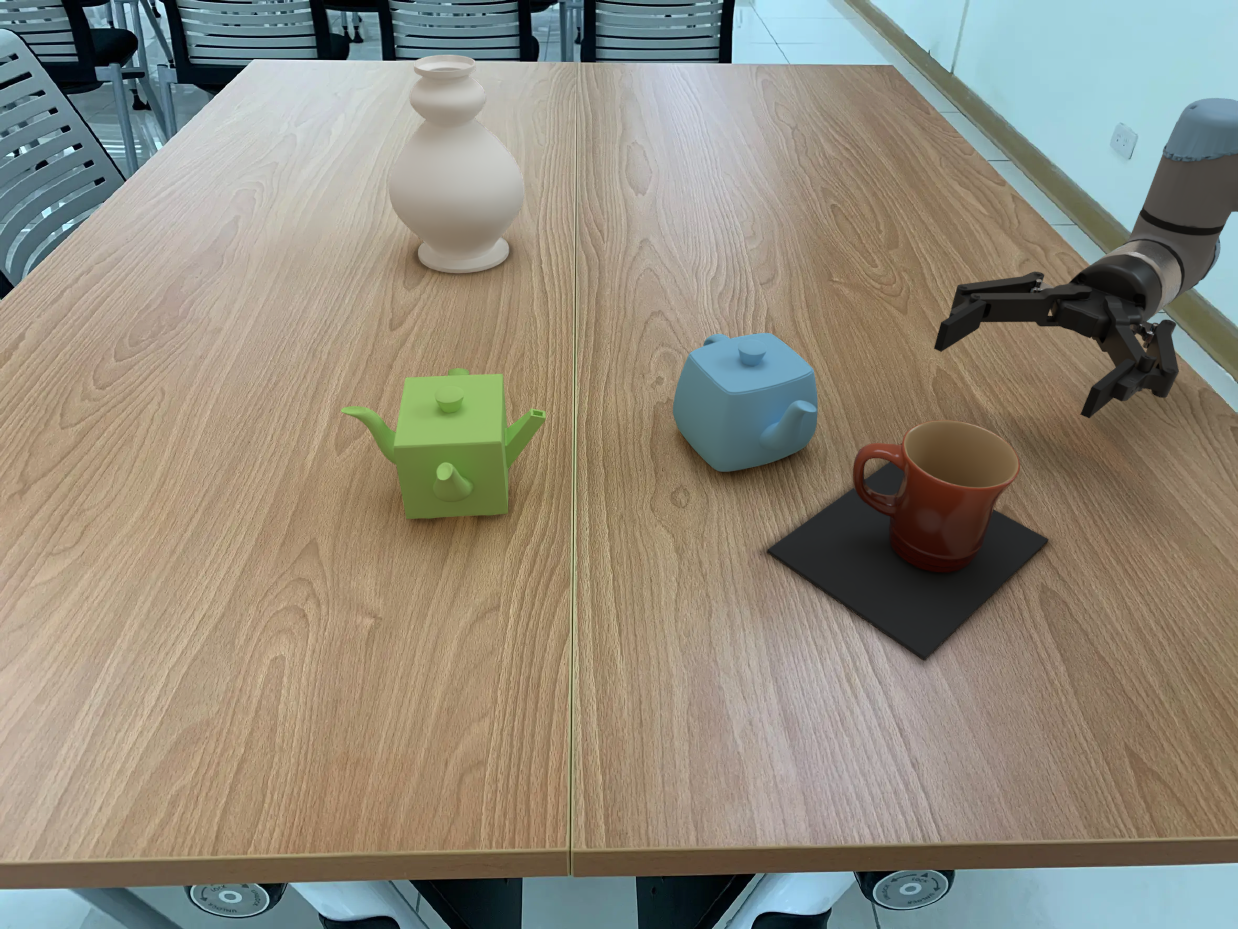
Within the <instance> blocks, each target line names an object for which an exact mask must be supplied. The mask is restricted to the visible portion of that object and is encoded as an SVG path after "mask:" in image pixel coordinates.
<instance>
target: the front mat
mask: <svg viewBox="0 0 1238 929" xmlns="http://www.w3.org/2000/svg"><path fill="white" fill-rule="evenodd" d="M903 473H904V472H903V471H902V470H901V469H899V468H898V467H897V466H896V465H894V464H893V463H891V462H890V461H888V462H887V463H885V465H883V466H882V467H881V468H879V469H878V470H875V472H874V473H872V474H871V475H868V476H867V477H866V478H864V479H865V482H866V484H867V485H868V487H869V488H870V489H872V490H873V491H875V492H877V493H880V494H884V495H894V494H896V493H897V491H898V490H899V487H900V485H901V482H902V478H903ZM889 524H890V516H887V515H884V514H882V513H880V512H878V511H876V510H875V509H873V508H872V507H870V506H869V505H867V504H866V503H865V502H863V501H862V500H861V499H860V497H859V496H858V494H857V492H856V490H855V487H854V486H853V487H852V488H851V489H849V490H848V491H847V492H846V493H844V494H843V495H841V496H840V497H839V498H837V499H835V500H834V501H833V502H831V503H830V504H829V505H827V506H826V507H824V508H823V509H822V510H820V511H819V512H818V513H816V514H815V515H813V516H812V517H810V518H809V519H807V520H806V521H805V522H803V523H802V524H801V525H800V526H798V527H797V528H795V529H794V530H792V531H791V532H790V533H789V534H787V535H786V536H784V537H783V538H781V539H780V540H779V541H777V542H776V543H774V544H773V545H771V546H770V547H769V548H767V550H766V553H767V554H769V555H770V556H772V557H773V558H774V559H776V560H778V562H780V563H782V564H783V565H785V566H786V567H788V568H789V569H790V570H792V571H793V572H794V573H796V574H798V575H799V576H801V577H802V578H803V579H805V580H807V581H808V582H809V583H810V584H812V585H814V586H815V587H816V588H818V589H820V590H821V591H823V592H824V593H825V594H827V595H829V596H830V597H831V598H833V599H834V600H836V601H837V602H838V603H840V604H842V605H843V606H845V607H846V608H848V609H849V610H850V611H852V612H853V613H855V614H856V615H858V617H861V618H862V619H863V620H865V621H866V622H868V623H869V624H871V625H872V626H874V627H875V628H876V629H877V630H879V631H881V632H882V633H884V634H885V635H887V636H888V637H890V638H891V639H892V640H894V641H895V642H897V643H898V644H899V645H901V646H903V647H904V648H906V649H907V650H908V651H910V652H912V653H913V654H914V655H916V656H917V657H919V658H921V660H923V661H924V660H926V659H927V658H928V657H929V656H930V655H931V654H932V653H933V652H935V650H937V649H938V647H940V646H941V644H943V643H944V642H945V641H946V640H947V639H948V638H949V637H950V636H951V635H952V634H953V633H954V632H956V631H957V630H958V628H959V627H961V625H963V624H964V623H965V622H966V621H967V620H968V619H969V618H970V617H971V616H972V615H973V614H974V613H975V612H976V611H977V610H978V609H979V608H980V607H981V606H982V605H984V603H985V602H987V601H988V600H989V599H990V597H992V596H993V595H994V594H995V593H996V592H997V591H998V590H999V589H1000V588H1001V587H1002V586H1003V585H1004V584H1005V583H1007V581H1008V580H1010V578H1011V577H1013V576H1014V575H1015V574H1016V573H1017V572H1018V571H1019V570H1020V569H1021V568H1022V567H1023V566H1024V565H1025V564H1027V562H1028V561H1030V560H1031V559H1032V557H1034V556H1035V555H1036V554H1037V553H1038V552H1039V551H1040V550H1041V549H1042V548H1043V547H1044V546H1045V545H1046V544H1047V543H1048V542H1049V538H1047V537H1045V536H1043V535H1042V534H1040V533H1038V532H1036V531H1035V530H1033V529H1031V528H1029V527H1027V526H1025V525H1024V524H1021V523H1020V522H1018V521H1016V520H1014V519H1012V518H1011V517H1008V516H1007V515H1005V514H1003V513H1001V512H1000V511H998V510H996V509H994V510H993V513H992V517H991V520H990V523H989V526H988V529H987V532H986V534H985V537H984V542H983V544H982V546H981V548H980V549H979V551H978V553H977V555H976V556H975V557H974V558H973V560H972V561H971V562H970V564H969V565H967V566H966V567H964V568H963V569H960V570H958V571H954V572H948V573H938V572H931V571H926V570H923V569H920V568H918V567H915V566H913V565H912V564H910V563H908V562H907V561H905V560H904V559H903V558H901V557H900V556H899V555H898V554H897V553H896V551H895V550H894V549H893V547H892V546H891V543H890V538H889Z"/></svg>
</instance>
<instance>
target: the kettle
mask: <svg viewBox="0 0 1238 929" xmlns="http://www.w3.org/2000/svg"><path fill="white" fill-rule="evenodd" d="M504 380H505V379H504V374H503V373H488V374H487V373H486V374H483V373H482V374H470V371H469V370H468V369H467V368H462V367H457V368H456V367H454V368H451V369H449V370H447V375H431V376H411V377H410V376H407V377H405V379H404V383H403V388H402V389H403V390H402V394H401V400H400V406H399V410H398V416H397V417H398V418H397V423H396V429H395V431H394V430H392V429H391V428H390V427H389V426H388V425H387V424H386V422H385V421H384V419H383V418H382V417H381V416H380V415H379V414H378V413H377V412H376V411H374V410H373V409H371V408H369V407H366V406H360V405H351V406H344V407H342V408H341V409H340V412H341V413H342V414H345V415H347V416H350V417H352V418H355V419H357V420H358V421H360V422H361V423H363V424H364V425H365V427H366V428H367V429H368V431H369V432H370V433H371V436H372V437H373V439H374V442H375V443H376V445H377V447H378V448H379V450H380V452H381V453H382V454H383V456H384V457H385V458H386V459H387V460H388V461H389V462H390V463H391V464H394V465H395V466H396V472H397V477H398V482H399V487H400V493H401V499H402V504H403V509H404V515H405V519H406V520H413V519H415V520H416V519H428V520H430V519H435V518H450V517H451V518H453V517H471V516H487V517H488V516H495V515H508V514H509V469H510V468H511V467H512V465H513V464H514V463H515V461H516V460H517V459H518V457H519V456H520V455H521V453H522V452H523V450H525V448H526V446H527V445H528V444H529V443H530V441H531V440H532V439H533V437H534V436H535V435H536V433H537V432H538V431H539V429H540V428H541V427H542V425H543V424H544V423H545V422H546V419H547V414H546V410H542V409H536V408H530V409H529V410H528V411H526V413H524V414H523V415H522V416H521V417H520V418H518V419H517V420H516V421H515V422H514V423H512V424H511V425H510V426H508V418H507V406H506V405H507V404H506V395H505V381H504Z"/></svg>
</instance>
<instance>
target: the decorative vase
mask: <svg viewBox="0 0 1238 929" xmlns="http://www.w3.org/2000/svg"><path fill="white" fill-rule="evenodd" d="M476 64H477V62H476V60H475V59H474V58H471V57H470V56H465V55H459V54H435V55H429V56H424V57H421V58H418V59H416V60H415V61H413V72H414V73H415V74H417V75H419V76H421V78H420V79H419V80H418V81H416V82H415V83H414V85H413V86H412V88H411V89H410V93H409V103H410V106H411V108H412V109H413V110H414V111H415V112H416V113H417V114H418V115H419V116H420V117H422V118H423V119H424V121H423V122H422V123H421V124H420V125H419V126H418V128H417V129H416V130H415V131H414V132H413V133H412V135H411V136H410V137H409V139H408V140H407V141H406V143H404V145H403V146H402V148H401V150H400V152H399V153H398V155H397V157H396V159H395V161H394V163H393V165H392V168H391V170H390V175H389V180H388V194H389V201H390V204H391V206H392V209H393V211H394V212H395V214H396V216H397V217H398V218H399V219H400V221H401V222H402V223H403V224H404V225H405V226H406V227H407V228H408V229H409V230H410V231H411V232H412V233H413V234H415V235H416V236H417V237H418V238H419V239H420V240H421V241H422V243H421V244H420V245H419V247H418V249H417V256H418V260H419V261H420V263H421V264H422V265H424V266H425V267H427V268H429V269H431V270H434V271H437V272H442V273H448V274H469V273H470V274H471V273H478V272H482V271H486V270H490V269H492V268H494V267H497V266H498V265H500V264H502V263H503V262H504V261H505V260H506V259H507V258H508V257H509V253H510V246H509V244H508V242H507V240H506V239H505V238H503V237H502V236H503V235H504V234H505V233H506V231H507V230H508V229H509V227H510V226H511V224H512V223H513V222H514V221H515V220H516V218H517V217H518V215H519V213H520V211H521V209H522V207H523V204H524V201H525V193H526V192H525V191H526V190H525V181H524V177H523V174H522V171H521V168H520V166H519V164H518V162H517V161H516V159H515V157H514V155H513V154H512V153H511V152H510V150H509V149H508V148H507V147H506V145H505V144H504V143H503V142H502V140H500V139H499V137H497V135H495V134H494V133H493V132H492V131H491V130H490V129H489V128H488V127H486V125H484V124H483V123H482V122H481V121H479V120H478V119H477V118H476V117H477V116H478V115H479V114H480V112H481V111H482V110H483V109H484V107H485V106H486V102H487V93H486V90H485V88H484V87H483V86H482V84H481V83H480V82H478V81H477V80H476V79H475V78H474V77H472V76H471V74H473V73H474V72H475V71H476V70H477V65H476Z"/></svg>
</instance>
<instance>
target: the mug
mask: <svg viewBox="0 0 1238 929" xmlns="http://www.w3.org/2000/svg"><path fill="white" fill-rule="evenodd" d="M872 459H879V460H885V461H888V462H891V463H893V464H894V465H896V466H897V467H898V468H899V469H901V470H902V471H903V472H904V473H903V478H902V482H901V485H900V487H899V490H898V491H897V493H896V494H894V495H884V494H880V493H877V492H875V491H873V490H872V489H870V488H869V487H868V485H867V484H866V482H865V479H866V478H865V468H866V463H867V462H868V461H869V460H872ZM1020 461H1021V460H1020V458H1019V456H1018V453H1017V452H1016V450H1015V449H1014V447H1013V446H1012V445H1010V443H1009V442H1008V441H1007V440H1005V439H1004V438H1002V437H1001V435H1000V436H999V435H998V434H997V433H995V432H993V431H991V430H990V429H987V428H985V427H982V426H981V425H977V424H974V423H971V422H966V421H961V420H956V419H955V420H954V419H937V420H936V419H933V420H929V421H924V422H921V423H917V424H916V425H914V426H913V427H911V428H909V429H908V430H907V431H906V432H905V433H904V435H903V438H902V441H901V443H900V444H896V443H886V442H885V443H884V442H872V443H868V444H865V445H864V446H862V447H861V448H860V449H859V450H858V452H857V453H856V455H855V458H854V461H853V466H852V484H853V488H854V487H855V490H856V492H857V494H858V496H859V497H860V499H861V500H862V501H863V502H865V503H866V504H867V505H869V506H870V507H872V508H873V509H875V510H876V511H878V512H880V513H882V514H884V515H887V516H890V524H889V538H890V543H891V546H892V547H893V549H894V550H895V551H896V553H897V554H898V555H899V556H900V557H901V558H903V559H904V560H905V561H907V562H908V563H910V564H912V565H913V566H915V567H918V568H920V569H923V570H926V571H931V572H938V573H948V572H954V571H958V570H960V569H963V568H964V567H966V566H967V565H969V564H970V562H971V561H972V560H973V558H974V557H975V556H976V555H977V553H978V551H979V549H980V548H981V546H982V544H983V542H984V537H985V534H986V532H987V529H988V526H989V523H990V520H991V517H992V513H993V510H995V507H996V504H997V502H998V500H999V499H1000V497H1001V496H1002V495H1003V493H1005V491H1006V490H1007V489H1008V488H1009V487H1010V486H1011V484H1012V483H1013V482H1014V481H1015V480H1016V479H1017V477H1018V475H1019V474H1020V471H1021V462H1020Z"/></svg>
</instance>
